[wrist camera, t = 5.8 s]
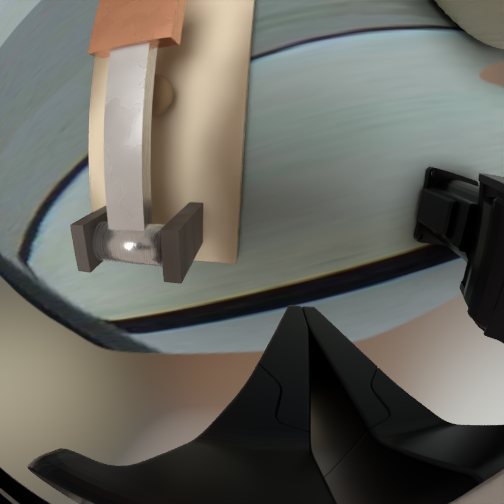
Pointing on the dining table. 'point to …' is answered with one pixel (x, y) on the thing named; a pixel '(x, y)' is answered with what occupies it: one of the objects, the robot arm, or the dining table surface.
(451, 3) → the canister
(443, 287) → the dining table surface
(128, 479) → the robot arm
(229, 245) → the base
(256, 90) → the dining table surface
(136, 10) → the lever
